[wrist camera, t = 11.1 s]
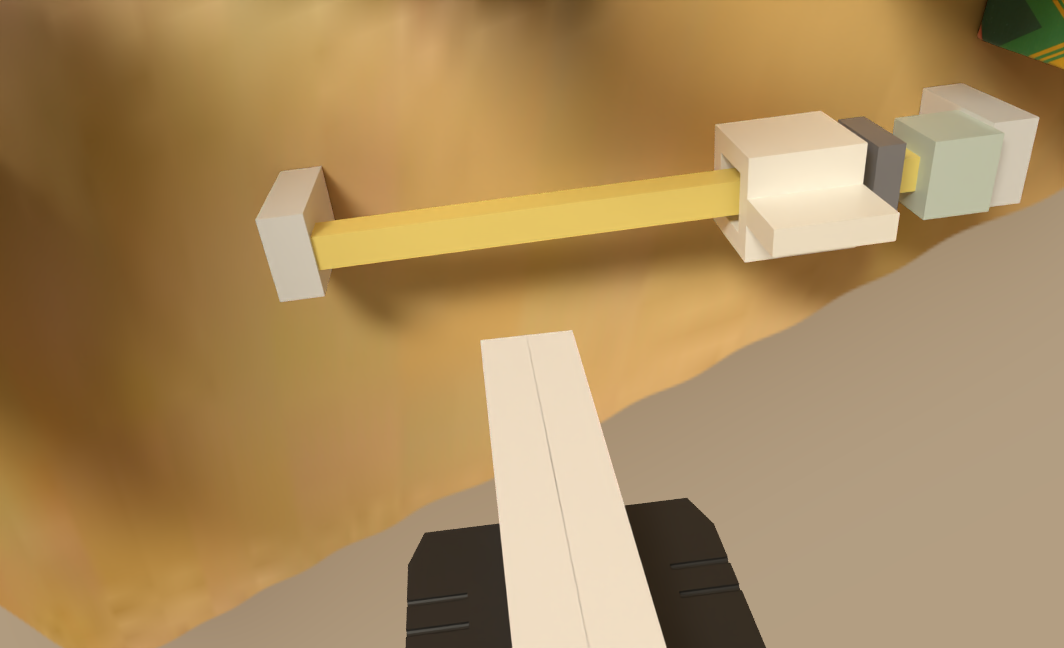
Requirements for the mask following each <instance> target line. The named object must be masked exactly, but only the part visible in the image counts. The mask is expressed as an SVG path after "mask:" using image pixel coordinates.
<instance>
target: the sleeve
mask: <svg viewBox="0 0 1064 648" xmlns="http://www.w3.org/2000/svg"><path fill="white" fill-rule="evenodd" d="M867 146H868V143H867V142H866V141H864V140H863V139H861V138H860V137H859V136H857V135H856V134H854V133H853V132H851V131H850V130H848V129H847V128H845V127H844V126H842V125H841V124H840V123H838V122H837V121H835V120H834V119H832V118H831V117H829V116H828V115H826V114H825V113H823V112H822V111H815V112H807V113H800V114H792V115H784V116H777V117H769V118H761V119H753V120H746V121H738V122H730V123H723V124H715V155H714V170H722V169H729V168H736V169H737V170H738V171H739V172H740V199H739V215H732V216H724V217H717V218H713V220H714V221H715V223H716V224H717V225H718V227H719V228H720V229H721V231H722V232H723V234H724V235H725V236H726V238H727V239H728V240H729V242H730V243H731V244H732V246H733V247H734V249H735V250H736V251H737V253H738V254H739V255H740V257H741V258H742V260H743V261H744V262H752V261H760V260H767V259H775V258H782V257H790V256H797V255H804V254H812V253H819V252H827V251H834V250H841V249H849V248H855V247H856V246H862V245H869V244H877V243H884V242H891V241H896V236H897V229H898V222H899V216H900V213H899V212H898V211H897V210H895V209H894V208H893V207H892V206H890V205H889V204H888V203H886V202H885V201H884V200H883V199H881V198H880V197H879V196H878V195H876V194H875V193H874V192H873V191H871V190H870V189H869V188H867V187H866V186H865V185H864V184H863V180H864V171H865V163H866V155H867Z"/></svg>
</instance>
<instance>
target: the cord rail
mask: <svg viewBox="0 0 1064 648" xmlns="http://www.w3.org/2000/svg"><path fill="white" fill-rule="evenodd" d="M1038 122H1039V117H1038V116H1036V115H1033V114H1031V113H1029V112H1027V111H1024V110H1022V109H1020V108H1018V107H1015V106H1013V105H1011V104H1009V103H1006V102H1004V101H1002V100H1000V99H997V98H995V97H993V96H991V95H988V94H986V93H984V92H982V91H979V90H977V89H975V88H973V87H970V86H968V85H966V84H963V83H959V84H951V85H944V86H936V87H928V88H923V93H922V100H921V107H920V113H919V115H915V116H907V117H899V118H895V121H894V129H893V134H891V133H890V132H888V131H886V130H885V129H883V128H882V127H880V126H878V125H877V124H875V123H874V122H872V121H870V120H869V119H867V118H866V117H864V116H863V117H856V118H848V119H840V120H838V123H840V124H841V125H842V126H844V127H845V128H847V129H848V130H850V131H851V132H853V133H854V134H856V135H857V136H859V137H860V138H861V139H863V140H864V141H866V142H867V143H868V146H867V155H866V163H865V171H864V180H863V184H864V185H865V186H866V187H867V188H869V189H870V190H871V191H873V192H874V193H875V194H876V195H878V196H879V197H880V198H881V199H883V200H884V201H885V202H886V203H888V204H889V205H890V206H892V207H893V208H894V209H895V210H897V207H898V201H899V202H900V203H902V204H903V205H904V206H905V207H907V208H908V209H909V210H911V211H912V212H913V213H915V214H916V215H917V216H918V217H920V218H921V219H922V220H928V219H935V218H943V217H950V216H958V215H965V214H972V213H980V212H987V211H989V207H994V206H1001V205H1009V204H1016V203H1020V200H1021V196H1022V191H1023V187H1024V183H1025V178H1026V174H1027V170H1028V165H1029V161H1030V157H1031V152H1032V148H1033V143H1034V139H1035V135H1036V130H1037V126H1038ZM739 199H740V172H739V171H738V170H737V169H736V168H729V169H722V170H714V171H706V172H699V173H691V174H684V175H676V176H668V177H661V178H653V179H646V180H638V181H630V182H623V183H615V184H607V185H600V186H592V187H585V188H577V189H569V190H562V191H554V192H547V193H539V194H531V195H524V196H516V197H509V198H501V199H493V200H486V201H478V202H470V203H463V204H455V205H448V206H440V207H432V208H425V209H417V210H410V211H402V212H394V213H387V214H379V215H372V216H364V217H356V218H349V219H341V220H335V218H334V214H333V210H332V206H331V202H330V198H329V194H328V190H327V186H326V182H325V178H324V174H323V170H322V166H318V167H310V168H302V169H294V170H287V171H280V173H279V175H278V177H277V179H276V181H275V183H274V185H273V187H272V188H271V190H270V192H269V194H268V196H267V198H266V200H265V202H264V204H263V206H262V208H261V210H260V212H259V214H258V215H257V217H256V219H255V221H256V224H257V228H258V231H259V234H260V237H261V241H262V244H263V247H264V251H265V254H266V257H267V260H268V264H269V267H270V270H271V274H272V277H273V280H274V283H275V287H276V290H277V293H278V297H279V300H280V302H285V301H292V300H300V299H307V298H315V297H322V296H325V294H326V290H327V286H328V283H329V279H330V275H331V272H332V269H333V268H341V267H348V266H356V265H363V264H371V263H378V262H386V261H393V260H401V259H409V258H416V257H424V256H431V255H439V254H446V253H454V252H461V251H469V250H476V249H484V248H491V247H499V246H506V245H514V244H521V243H529V242H536V241H544V240H551V239H559V238H566V237H574V236H581V235H589V234H596V233H604V232H611V231H619V230H626V229H634V228H641V227H649V226H656V225H664V224H671V223H679V222H686V221H694V220H702V219H709V218H717V217H724V216H732V215H739Z"/></svg>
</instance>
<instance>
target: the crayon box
mask: <svg viewBox="0 0 1064 648" xmlns="http://www.w3.org/2000/svg"><path fill="white" fill-rule="evenodd" d="M977 37H978V38H979V39H981V40H983V41H985V42H988V43H991V44H993V45H996V46H998V47H1002V48H1004V49H1007V50H1010V51H1013V52H1016V53H1019V54H1022V55H1025V56H1027V57H1030V58H1033V59H1035V60H1039V61H1041V62H1044V63H1047V64H1050V65H1052V66H1055V67H1058V68H1061V69H1063V70H1064V0H988V1H987V5H986V8H985V12H984V15H983V19H982V23H981V26H980V29H979V32H978V34H977Z"/></svg>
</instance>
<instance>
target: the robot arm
mask: <svg viewBox="0 0 1064 648" xmlns="http://www.w3.org/2000/svg"><path fill="white" fill-rule="evenodd" d="M480 341H481V351H482V361H483V370H484V380H485V389H486V399H487V409H488V418H489V428H490V438H491V447H492V457H493V466H494V476H495V485H496V495H497V505H498V515H499V524H493V525H484V526H477V527H468V528H460V529H453V530H444V531H436V532H428V533H425V534H424V535H423V537H422V539H421V541H420V543H419V545H418V547H417V549H416V551H415V553H414V555H413V557H412V559H411V561H410V563H409V564H408V588H407V603H408V607H407V622H406V623H407V624H406V631H407V637H406V648H766V647H765V645H764V642H763V640H762V637H761V635H760V633H759V630H758V628H757V626H756V624H755V621H754V618H753V616H752V614H751V611H750V609H749V606H748V604H747V602H746V599H745V597H744V594H743V592H742V591H741V590H740V588H739V583H738V580H737V578H736V575H735V573H734V571H733V568H732V566H731V564H730V563H728V558H727V554H726V552H725V550H724V547H723V545H722V542H721V540H720V538H719V535H718V533H717V531H716V528H715V526H714V524H713V523H712V522H711V521H710V520H709V519H708V518H707V517H706V516H705V515H704V514H703V513H702V512H701V511H700V510H699V509H698V508H697V507H696V506H695V505H694V504H693V503H692V502H690V501H689V500H688V498H682V499H674V500H666V501H658V502H651V503H642V504H634V505H626V506H624V503H623V500H622V496H621V493H620V489H619V486H618V483H617V479H616V476H615V472H614V469H613V466H612V462H611V459H610V456H609V452H608V449H607V446H606V442H605V439H604V435H603V432H602V429H601V425H600V422H599V419H598V415H597V412H596V408H595V405H594V402H593V398H592V395H591V392H590V388H589V385H588V382H587V378H586V375H585V371H584V368H583V365H582V361H581V358H580V355H579V351H578V348H577V344H576V341H575V338H574V334H573V331H572V330H569V331H560V332H551V333H542V334H533V335H524V336H515V337H506V338H497V339H487V340H480Z"/></svg>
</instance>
